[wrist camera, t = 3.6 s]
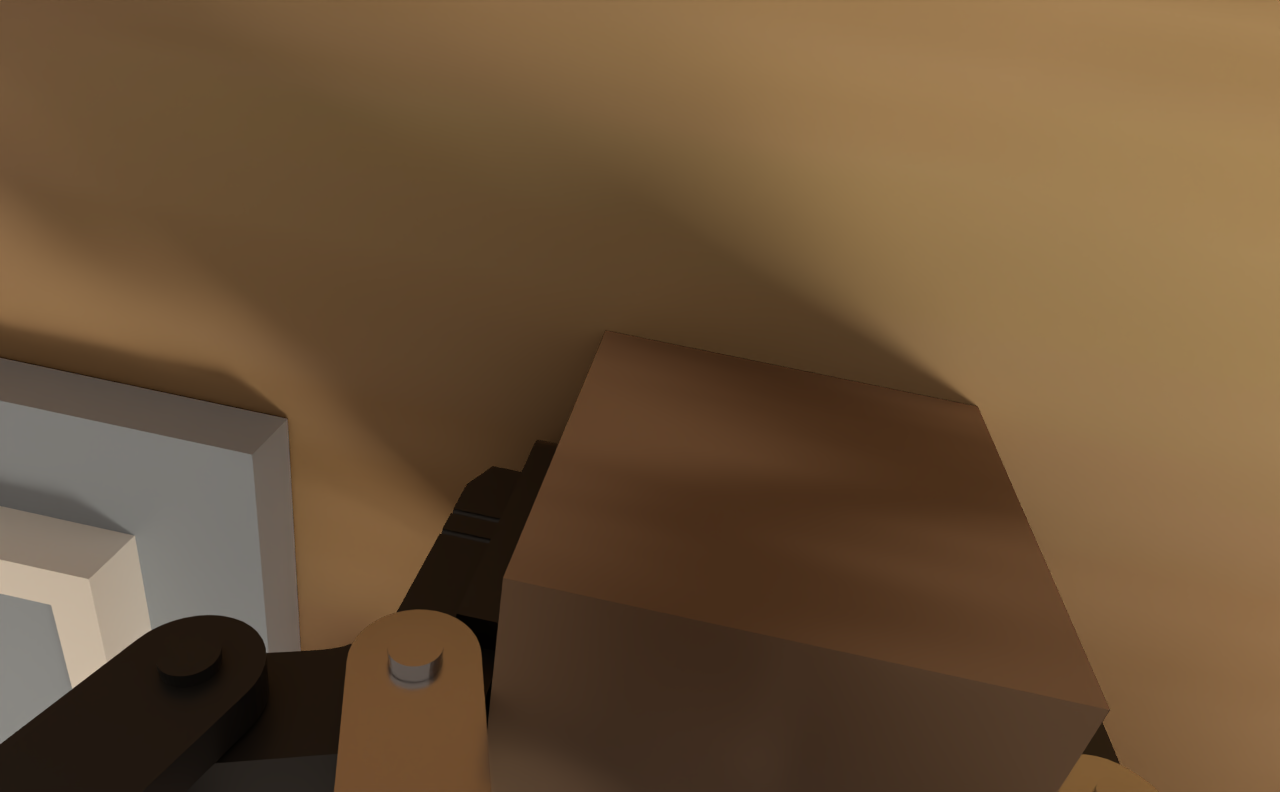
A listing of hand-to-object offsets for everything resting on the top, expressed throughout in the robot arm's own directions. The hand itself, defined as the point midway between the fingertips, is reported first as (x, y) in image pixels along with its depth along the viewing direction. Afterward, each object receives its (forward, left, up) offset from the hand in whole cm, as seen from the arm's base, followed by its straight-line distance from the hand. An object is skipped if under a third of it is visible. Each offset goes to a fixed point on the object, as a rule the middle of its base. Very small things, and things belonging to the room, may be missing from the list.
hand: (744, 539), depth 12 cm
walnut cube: (0, 0, 0) cm, 0 cm away
